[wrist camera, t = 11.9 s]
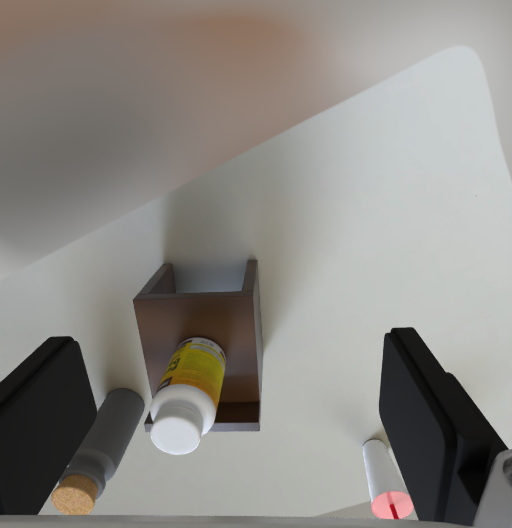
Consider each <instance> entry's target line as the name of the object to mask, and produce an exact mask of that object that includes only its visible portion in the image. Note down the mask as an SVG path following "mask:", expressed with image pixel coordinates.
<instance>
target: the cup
mask: <svg viewBox="0 0 512 528" xmlns="http://www.w3.org/2000/svg"><path fill="white" fill-rule="evenodd" d="M363 454H364V461H365V467H366V473H367V479H368V485H369V491H370V497H371V503H372V506H371V508H372V511H373V513H374V514H375V515H376V516H377V517H379V518H381V519H402V518H404V517H406V516H408V515H409V514H410V513H411V512H412V510H413V508H414V506H413V503H412V501H411V498H410V495H409V493H408V491H407V489H406V487H405V485H404V483H403V480H402V478H401V476H400V474H399V472H398V470H397V468H396V466H395V464H394V462H393V460H392V458H391V456H390V454H389V452H388V450H387V448H386V446H385V444H384V443H383V442H382V441H380V440H369V441H367V442H366V443H365V444H364V445H363Z"/></svg>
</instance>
